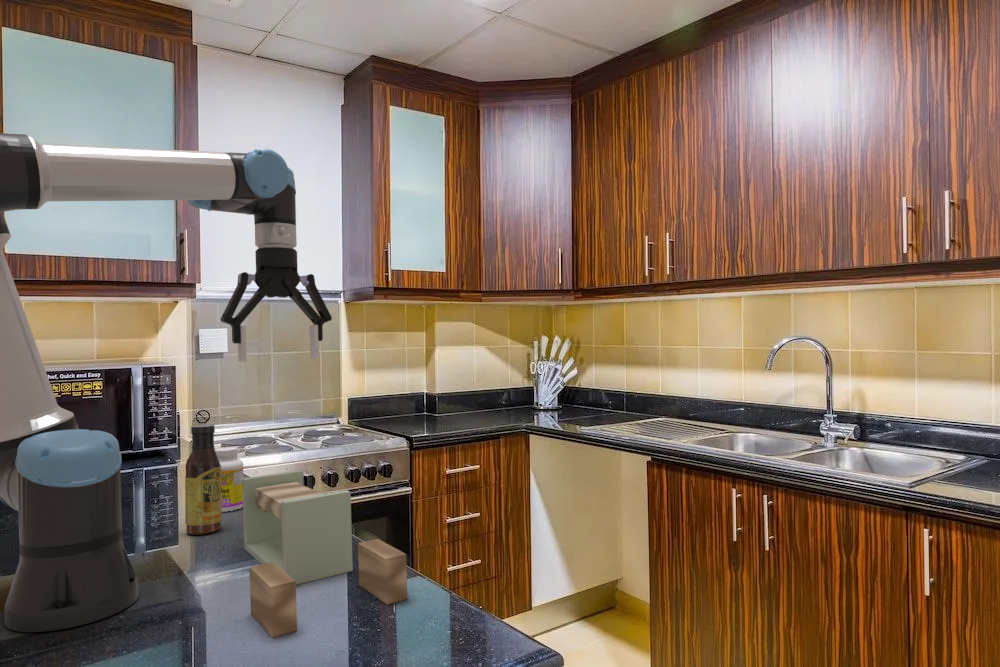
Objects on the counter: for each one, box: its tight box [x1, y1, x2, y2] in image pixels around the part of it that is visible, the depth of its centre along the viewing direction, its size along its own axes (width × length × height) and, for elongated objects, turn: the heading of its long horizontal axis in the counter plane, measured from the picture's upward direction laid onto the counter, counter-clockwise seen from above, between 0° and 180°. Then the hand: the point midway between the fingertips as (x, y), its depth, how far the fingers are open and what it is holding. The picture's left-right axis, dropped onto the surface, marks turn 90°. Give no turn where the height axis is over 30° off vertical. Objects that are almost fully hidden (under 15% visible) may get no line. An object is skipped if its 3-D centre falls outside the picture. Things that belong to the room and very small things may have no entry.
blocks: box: [249, 538, 408, 638], centre depth 87 cm, size 18×9×6 cm, turn 126°
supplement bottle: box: [214, 446, 244, 513], centre depth 141 cm, size 7×7×13 cm
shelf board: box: [255, 482, 321, 520], centre depth 107 cm, size 18×7×2 cm, turn 36°
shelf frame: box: [242, 469, 354, 586], centre depth 107 cm, size 23×10×12 cm, turn 36°
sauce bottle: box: [184, 424, 223, 536], centre depth 125 cm, size 7×6×20 cm
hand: (279, 360), depth 126 cm, fingers open, 13 cm apart
